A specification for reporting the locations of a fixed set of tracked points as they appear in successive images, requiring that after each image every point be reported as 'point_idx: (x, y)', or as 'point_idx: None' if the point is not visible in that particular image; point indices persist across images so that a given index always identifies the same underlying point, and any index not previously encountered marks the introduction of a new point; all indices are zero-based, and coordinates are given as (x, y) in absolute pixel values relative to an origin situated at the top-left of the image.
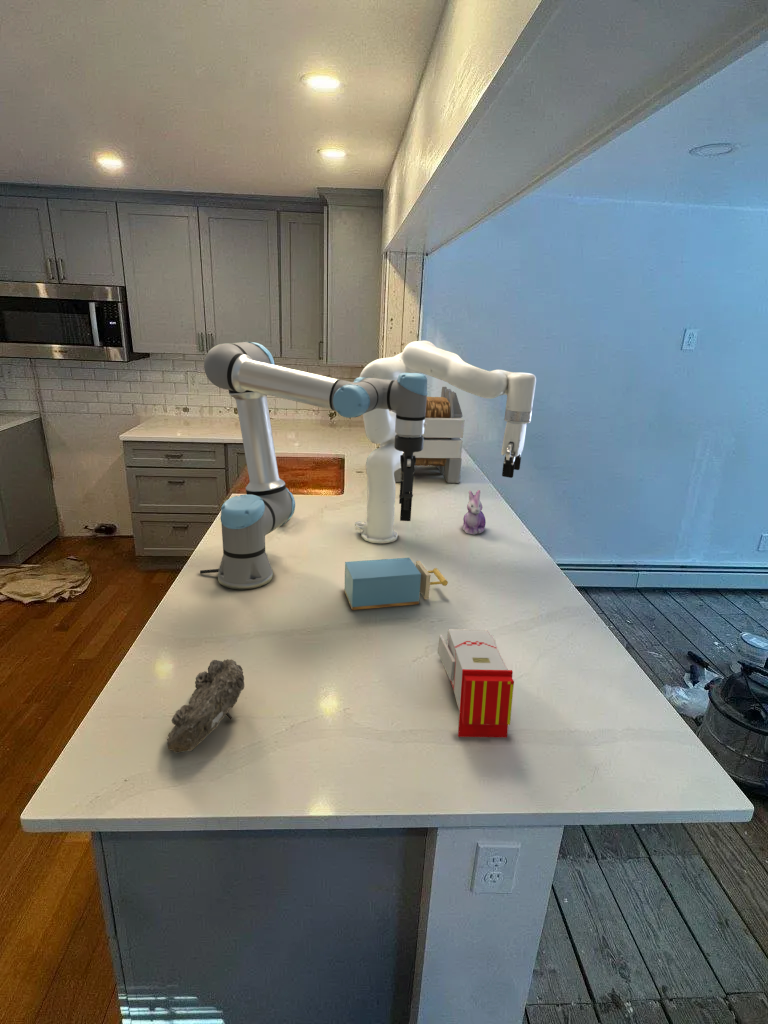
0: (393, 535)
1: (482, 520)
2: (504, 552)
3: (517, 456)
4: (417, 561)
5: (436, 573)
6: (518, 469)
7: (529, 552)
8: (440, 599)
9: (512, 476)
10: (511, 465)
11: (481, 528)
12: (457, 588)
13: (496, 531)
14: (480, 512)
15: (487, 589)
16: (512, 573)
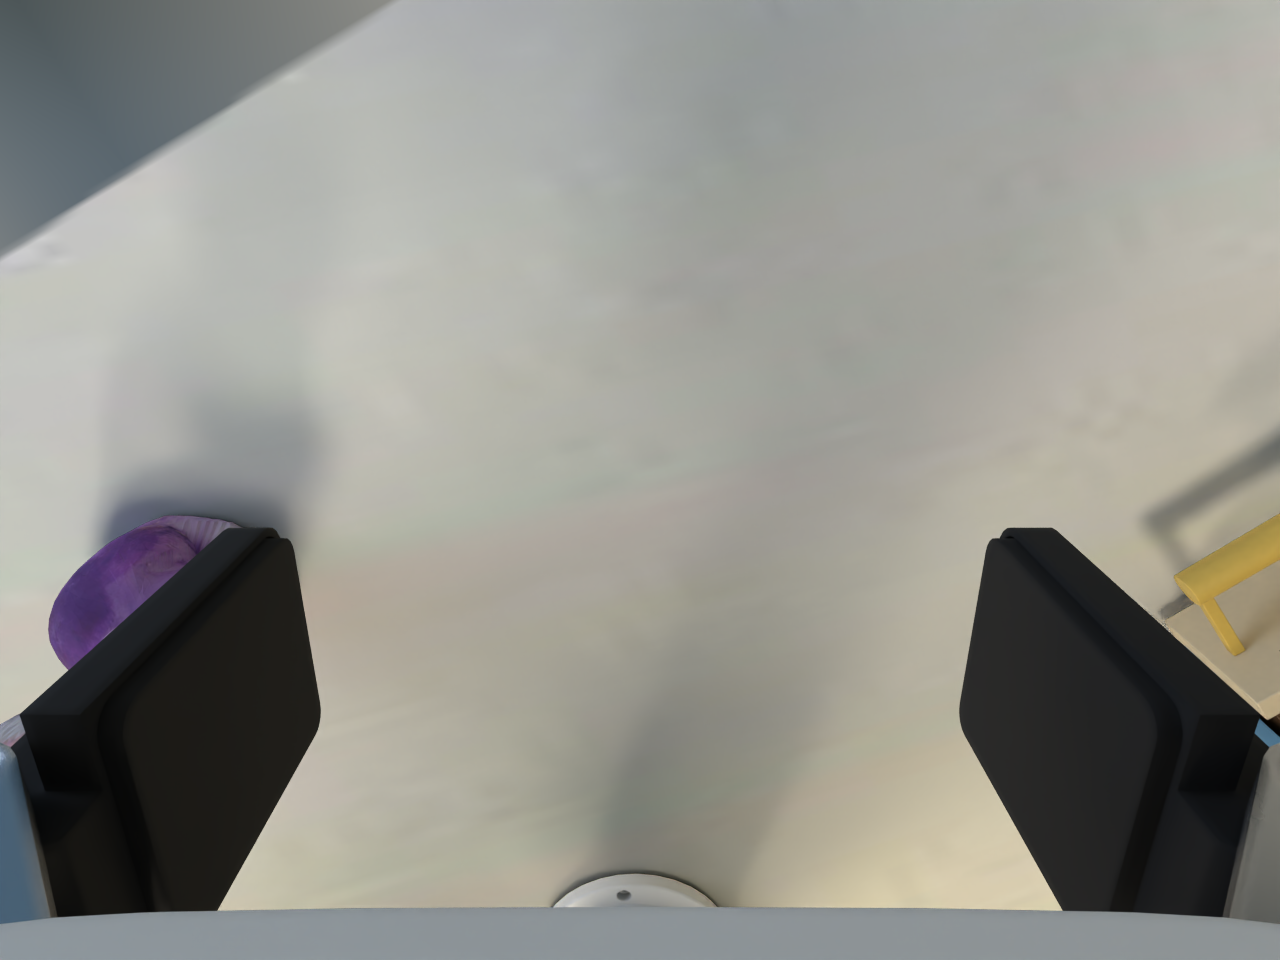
0: (620, 902)
1: (160, 562)
2: (454, 298)
3: (91, 831)
4: (1275, 710)
5: (1254, 573)
6: (289, 541)
7: (344, 125)
8: (1276, 471)
9: (1058, 539)
10: (1206, 763)
11: (194, 535)
12: (1117, 428)
13: (114, 435)
14: (119, 613)
15: (1076, 266)
16: (776, 168)
